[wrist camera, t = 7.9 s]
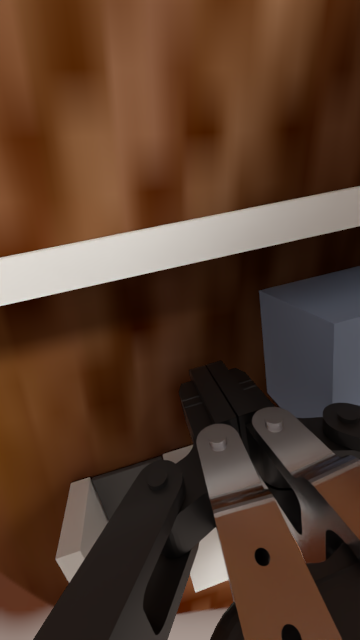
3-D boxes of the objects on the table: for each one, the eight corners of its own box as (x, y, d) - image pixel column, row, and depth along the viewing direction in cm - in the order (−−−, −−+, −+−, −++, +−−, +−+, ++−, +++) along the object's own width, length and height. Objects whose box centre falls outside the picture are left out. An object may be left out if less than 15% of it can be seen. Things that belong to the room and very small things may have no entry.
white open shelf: (420, 173, 12) (527, 153, 9) (386, 450, 19) (442, 496, 15) (-32, 264, 10) (-108, 280, 7) (102, 549, 16) (96, 630, 13)
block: (365, 263, 14) (491, 280, 9) (359, 363, 16) (458, 419, 11) (257, 289, 13) (333, 323, 8) (266, 391, 15) (330, 464, 10)
